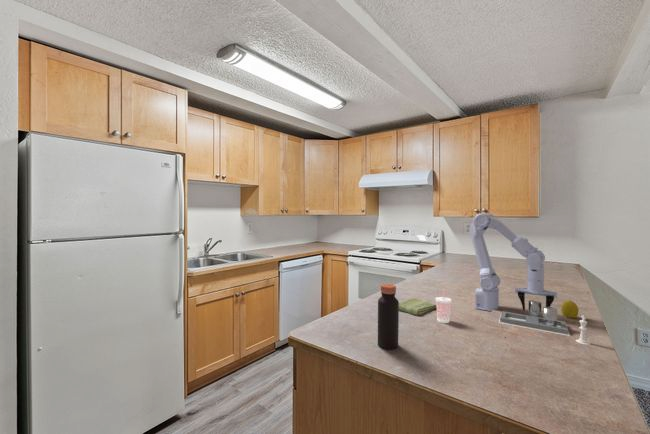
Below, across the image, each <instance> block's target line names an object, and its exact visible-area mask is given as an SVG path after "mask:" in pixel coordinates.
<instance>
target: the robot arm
mask: <svg viewBox="0 0 650 434" xmlns="http://www.w3.org/2000/svg"><path fill="white" fill-rule="evenodd" d="M487 229H493V230H496V231H498V233H500V235H502V236H503V237H505V238H506V239H507V240H509V241H510V243H511V247H512V248H513V249H514V250H516V252H518V253H519V254H520V255H521V256H522V257H523V258H525V261H526V263H527V270H526V271H527V273H526V275H527V276H526V280H527V281H526V282H527V283H526V287H516V286H515V287H514V293H515V294H516V293H517V296H518V298H519V301H520V303H521V305H522V312H523V311H524V312H525V311H526V301H525V298H526V297H525V295H526V294H527V295H534V296H543V297H545V307H551V306H552V304H553V303H554V302H555V299H558V292H557V291H550V290H546V289H545V268H544V267H545V266H544V264H545V263H544V262H545V260H546V255H545V254H544V253H543V251H541V250H538V249H539V248H537V247H536V246H534V245H532V244H531V243H530V242H529V239H528V238H524V237H523V236H520V237H519V236H517V235H516V234H515V233H514V232H513V231H512V230H511V229H510V228H509V227H507V225H505V223H503V222H502V221H501V220H500V219H499V218H498V217H496V216H495V215H493V214H492V213H490V212H486V213H483V212H479V213H478V214H476V215H475V217H473V219H472V223H471V227H470V231H469V235H470V239H471V242H472V246H473V250H474V252H475V255H476V260H477V264H478V267H479V278H480V279H479V286H480V287H476V289H475V301H474V303H475V304H474V306H475V307H474V308H475V309H477V310H482V311H487V312H493V310H499V306H500V305H499V304H500V303H499V302H500V300H499V299H500V298H499V297H500V295H499V294H500V289H499V287H498V286H500V284H501V279H500V277H499V275H497V272H496V271H495V269H494V268H493V265H492V262H491V258H490V254H489V250H488V248H487V244H486V240H485V237H484V234H485V232H486V231H487Z"/></svg>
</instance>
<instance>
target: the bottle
mask: <svg viewBox="0 0 650 434" xmlns="http://www.w3.org/2000/svg"><path fill="white" fill-rule="evenodd" d="M396 293H397V286H396V285H394V284H390V283H383V284H381V285H380V294H381V296H380V297H379V298H378V300H377V346H378V347H380V348H381V349H383V350H394V349H397V348H398V347H399V326H400V325H399V314H400V312H399V311H400V310H399V303H400V302H399V300H398V299H397V298H396V295H397V294H396Z"/></svg>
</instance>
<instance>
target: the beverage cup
mask: <svg viewBox="0 0 650 434" xmlns="http://www.w3.org/2000/svg"><path fill="white" fill-rule="evenodd" d="M435 302H436V304H435V305H436V306H437V307H436V319H437V322H439V323H443V324H448V323H450V316H451V308H452V307H451V304H452V298H451V297H445V286H442V296H438V297H437V296H436V297H435Z"/></svg>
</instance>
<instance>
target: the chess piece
mask: <svg viewBox="0 0 650 434" xmlns="http://www.w3.org/2000/svg"><path fill="white" fill-rule="evenodd" d="M580 317H581V318H582V319H580V320H579V323H580V326H579V327H578V329H580V334H579V335H580V336H579V338H578V339H575V341H576V342H577V343H578V344H581V345H586V346H587V345H591V342H589V341H588V340H587V338H586V337H587V336H586V331H588V328H587V327H586V326H587V325H588V321H586V317H585V315H584V314H583V315H581V316H580Z"/></svg>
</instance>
